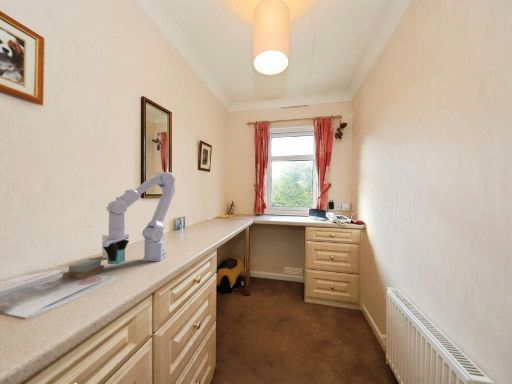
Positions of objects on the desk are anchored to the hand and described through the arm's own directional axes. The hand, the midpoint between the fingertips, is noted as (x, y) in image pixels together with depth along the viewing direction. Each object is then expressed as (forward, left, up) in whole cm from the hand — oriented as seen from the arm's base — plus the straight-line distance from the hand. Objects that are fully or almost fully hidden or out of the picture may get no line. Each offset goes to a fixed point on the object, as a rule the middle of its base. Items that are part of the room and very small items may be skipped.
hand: (116, 258), depth 89 cm
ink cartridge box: (+12, -16, -4) cm, 20 cm away
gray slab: (+8, +7, -2) cm, 11 cm away
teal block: (0, 0, -2) cm, 2 cm away
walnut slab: (+8, +7, -4) cm, 12 cm away
